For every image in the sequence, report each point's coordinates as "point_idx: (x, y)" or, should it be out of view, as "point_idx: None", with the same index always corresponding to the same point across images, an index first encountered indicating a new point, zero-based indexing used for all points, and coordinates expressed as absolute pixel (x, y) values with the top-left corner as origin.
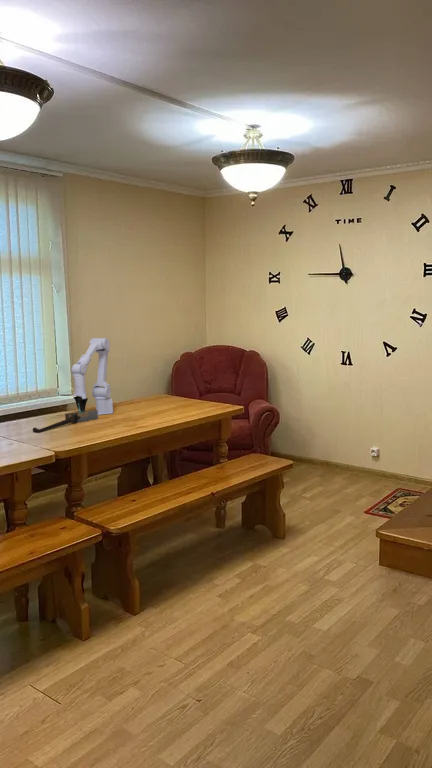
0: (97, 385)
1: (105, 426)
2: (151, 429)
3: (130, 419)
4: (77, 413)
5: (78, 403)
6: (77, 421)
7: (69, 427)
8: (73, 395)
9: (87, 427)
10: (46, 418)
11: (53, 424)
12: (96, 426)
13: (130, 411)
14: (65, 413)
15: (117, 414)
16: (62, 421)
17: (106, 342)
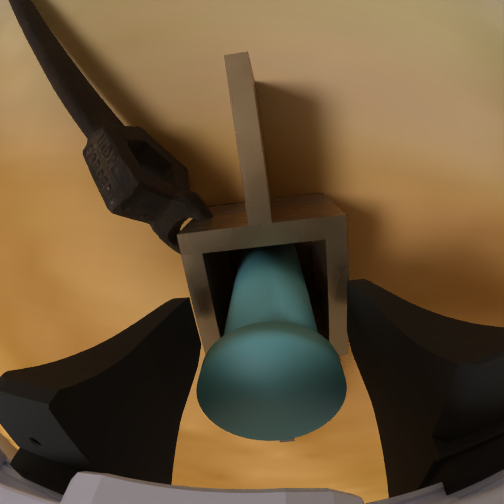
0: None
1: (27, 353)
2: (6, 436)
3: (181, 481)
4: (178, 234)
5: (257, 351)
6: (221, 205)
7: (31, 124)
8: (95, 475)
9: (8, 255)
10: (499, 7)
11: (13, 9)
12: (26, 313)
13: (383, 494)
14: (246, 58)
15: (356, 467)
16: (37, 58)
17: None
